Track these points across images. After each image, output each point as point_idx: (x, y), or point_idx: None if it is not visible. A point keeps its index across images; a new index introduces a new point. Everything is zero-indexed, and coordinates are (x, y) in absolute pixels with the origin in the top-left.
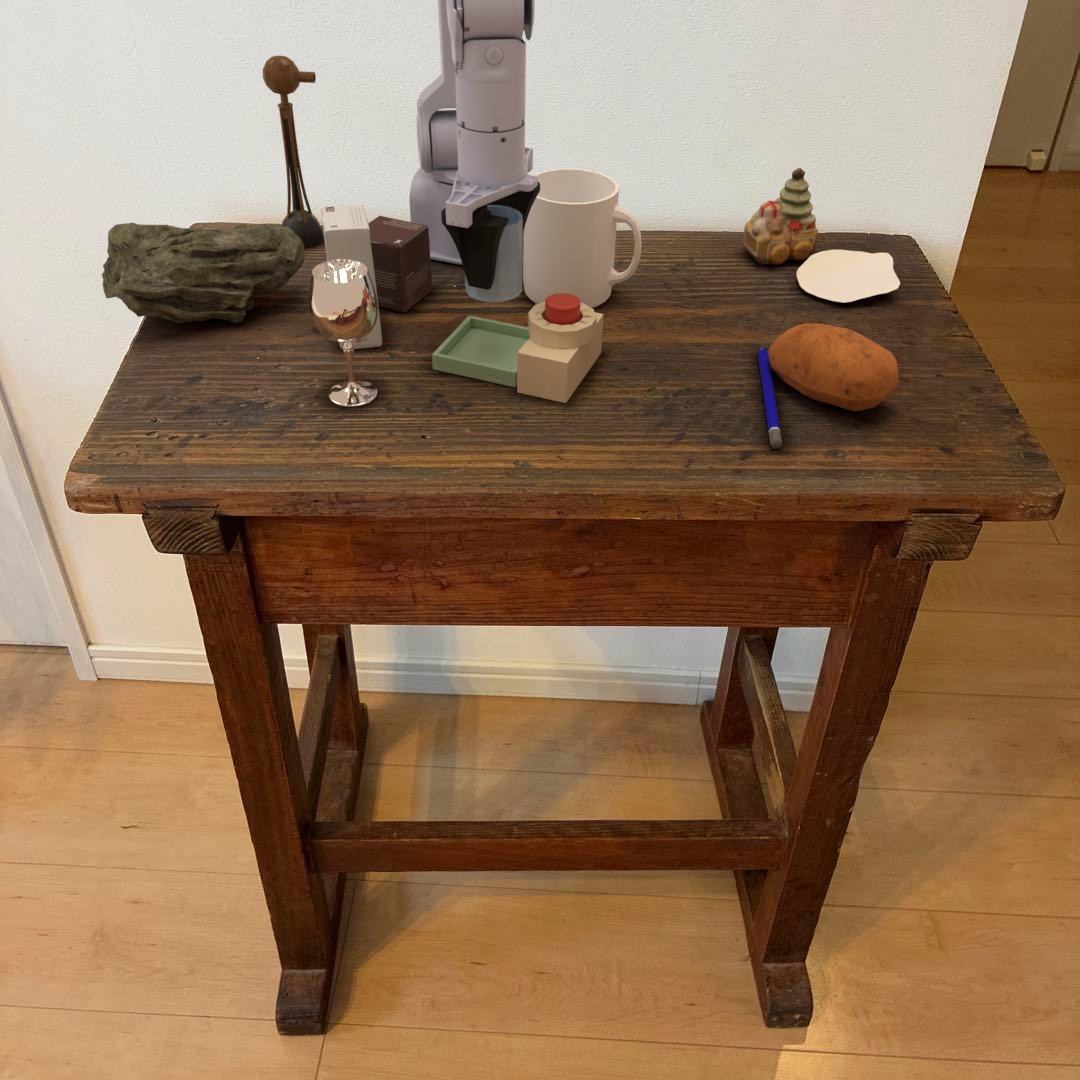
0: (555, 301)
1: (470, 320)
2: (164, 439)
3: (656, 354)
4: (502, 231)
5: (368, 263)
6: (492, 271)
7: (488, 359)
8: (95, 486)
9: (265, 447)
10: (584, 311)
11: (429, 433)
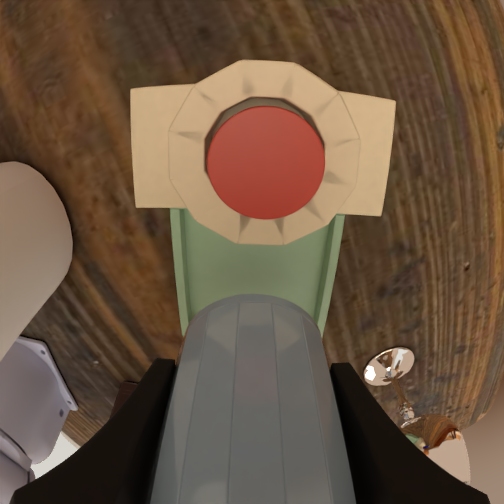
0: (279, 185)
1: None
2: (450, 418)
3: (130, 7)
4: (406, 501)
5: None
6: (372, 397)
7: (281, 265)
8: (488, 410)
9: (469, 373)
10: (219, 103)
11: (460, 265)
